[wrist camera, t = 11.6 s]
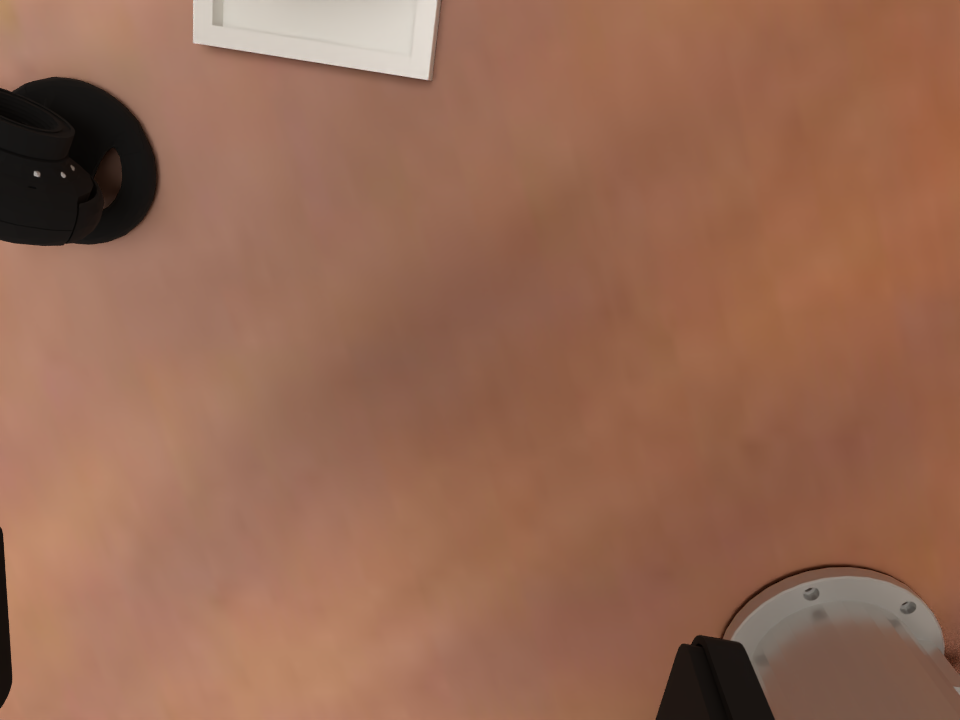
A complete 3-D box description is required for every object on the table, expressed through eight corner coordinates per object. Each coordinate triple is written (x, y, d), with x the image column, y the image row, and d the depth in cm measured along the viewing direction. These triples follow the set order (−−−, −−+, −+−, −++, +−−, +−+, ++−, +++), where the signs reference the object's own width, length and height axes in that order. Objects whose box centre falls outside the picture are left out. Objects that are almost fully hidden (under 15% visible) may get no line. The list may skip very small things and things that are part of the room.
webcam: (187, 134, 33) (62, 150, 24) (130, 270, 35) (-3, 333, 26) (26, 42, 32) (-171, 21, 23) (-21, 189, 34) (-218, 224, 25)
